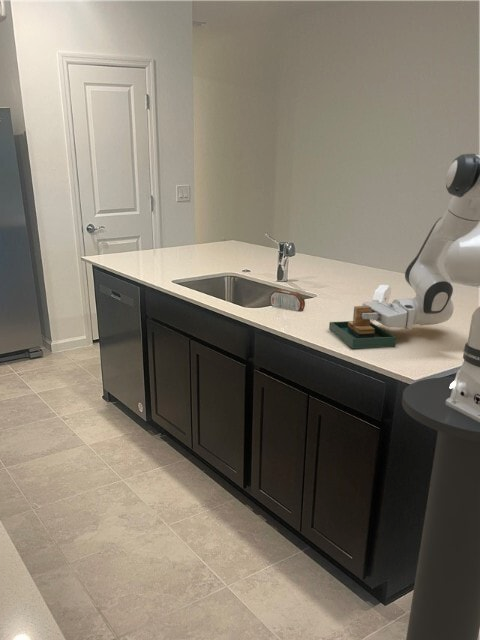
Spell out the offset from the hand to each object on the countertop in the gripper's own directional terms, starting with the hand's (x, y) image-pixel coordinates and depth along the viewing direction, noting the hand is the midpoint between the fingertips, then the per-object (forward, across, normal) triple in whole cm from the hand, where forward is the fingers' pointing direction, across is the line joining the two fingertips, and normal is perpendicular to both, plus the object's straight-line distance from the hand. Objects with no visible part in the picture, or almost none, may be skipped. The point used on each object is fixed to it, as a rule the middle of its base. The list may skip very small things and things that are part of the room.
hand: (359, 314), depth 176 cm
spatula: (-15, -23, +7) cm, 28 cm away
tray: (-1, +1, +8) cm, 8 cm away
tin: (+13, -39, +8) cm, 42 cm away
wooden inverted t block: (-1, 0, +6) cm, 7 cm away
